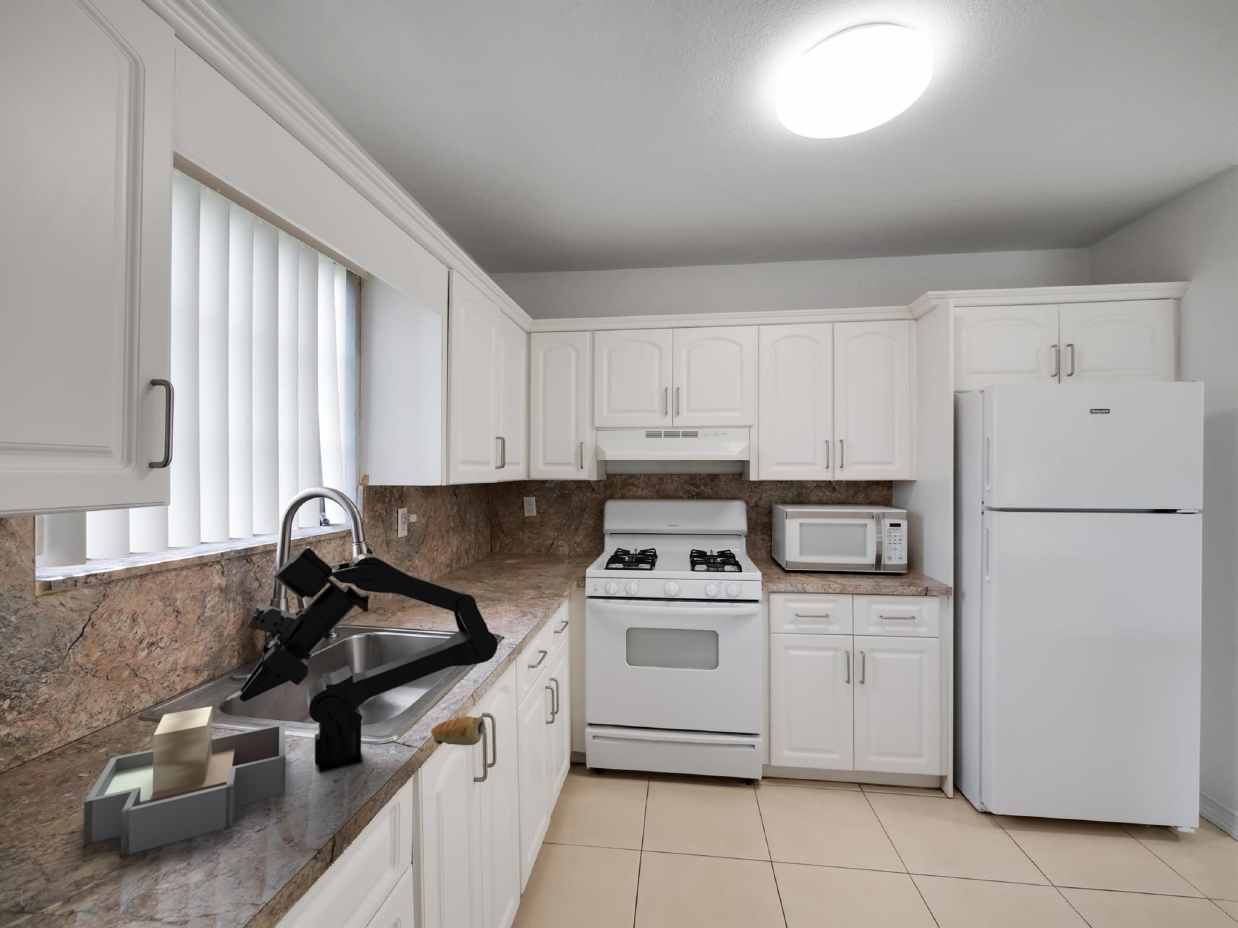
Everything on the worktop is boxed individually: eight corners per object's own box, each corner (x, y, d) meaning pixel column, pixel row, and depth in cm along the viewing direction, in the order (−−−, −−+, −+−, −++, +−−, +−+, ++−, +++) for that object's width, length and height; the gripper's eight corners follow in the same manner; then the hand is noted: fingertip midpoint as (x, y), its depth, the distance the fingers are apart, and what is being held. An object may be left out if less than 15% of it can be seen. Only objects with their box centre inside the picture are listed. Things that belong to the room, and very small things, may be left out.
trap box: (284, 755, 96) (284, 723, 96) (285, 812, 79) (285, 772, 79) (110, 794, 84) (111, 757, 84) (69, 870, 68) (70, 824, 68)
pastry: (425, 746, 99) (425, 724, 99) (439, 730, 106) (439, 709, 106) (477, 747, 99) (477, 725, 99) (487, 730, 106) (487, 710, 106)
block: (211, 757, 88) (212, 706, 88) (205, 780, 81) (206, 725, 82) (162, 767, 85) (163, 714, 85) (152, 792, 78) (153, 734, 78)
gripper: (282, 576, 98) (204, 649, 92) (283, 595, 82) (188, 685, 76) (332, 615, 102) (260, 688, 96) (341, 640, 86) (256, 729, 80)
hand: (241, 696), depth 87 cm, fingers open, 3 cm apart
